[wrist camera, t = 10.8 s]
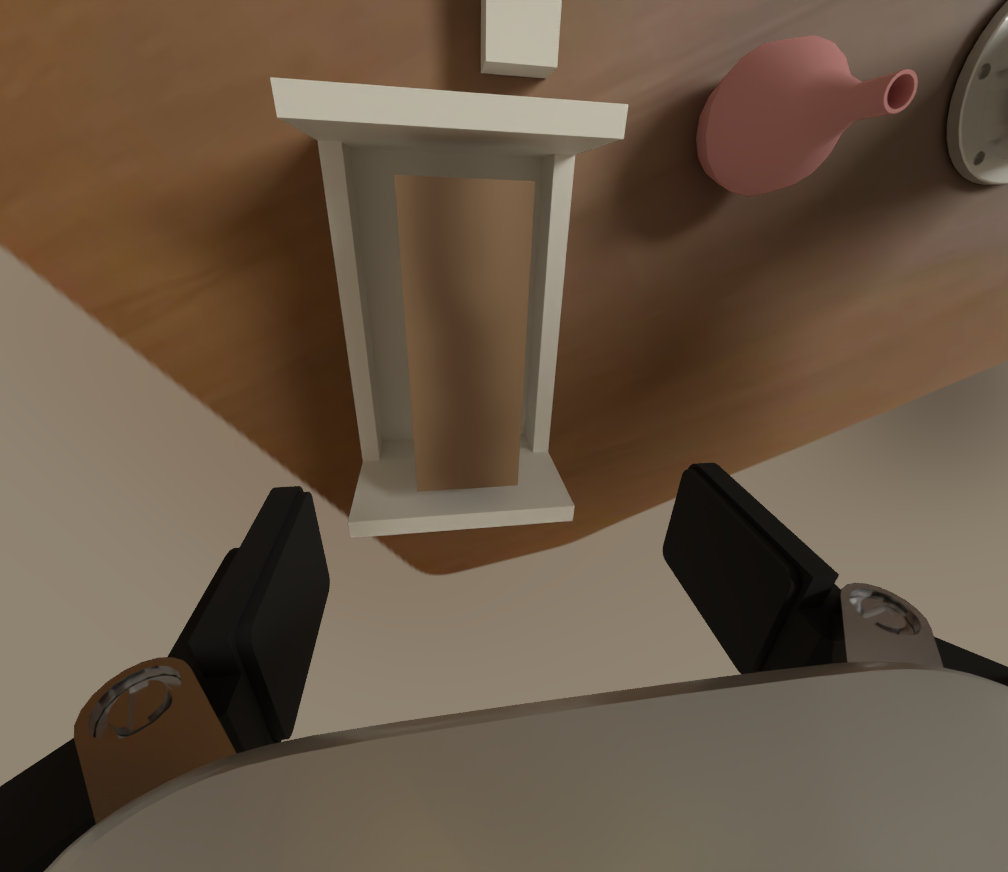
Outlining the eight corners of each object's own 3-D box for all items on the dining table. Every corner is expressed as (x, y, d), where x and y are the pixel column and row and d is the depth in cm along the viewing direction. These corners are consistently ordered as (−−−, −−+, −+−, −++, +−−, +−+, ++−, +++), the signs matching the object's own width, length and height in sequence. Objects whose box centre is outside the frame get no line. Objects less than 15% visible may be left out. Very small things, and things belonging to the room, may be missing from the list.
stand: (557, 139, 28) (628, 104, 18) (535, 439, 38) (572, 520, 28) (329, 125, 26) (269, 77, 16) (371, 447, 36) (350, 538, 26)
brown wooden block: (514, 185, 23) (535, 181, 19) (504, 445, 31) (517, 485, 26) (400, 180, 22) (394, 174, 18) (418, 449, 30) (417, 491, 25)
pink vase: (785, 173, 31) (968, 158, 21) (685, 213, 31) (814, 218, 21) (784, 37, 27) (1007, -67, 17) (669, 84, 27) (819, 11, 17)
